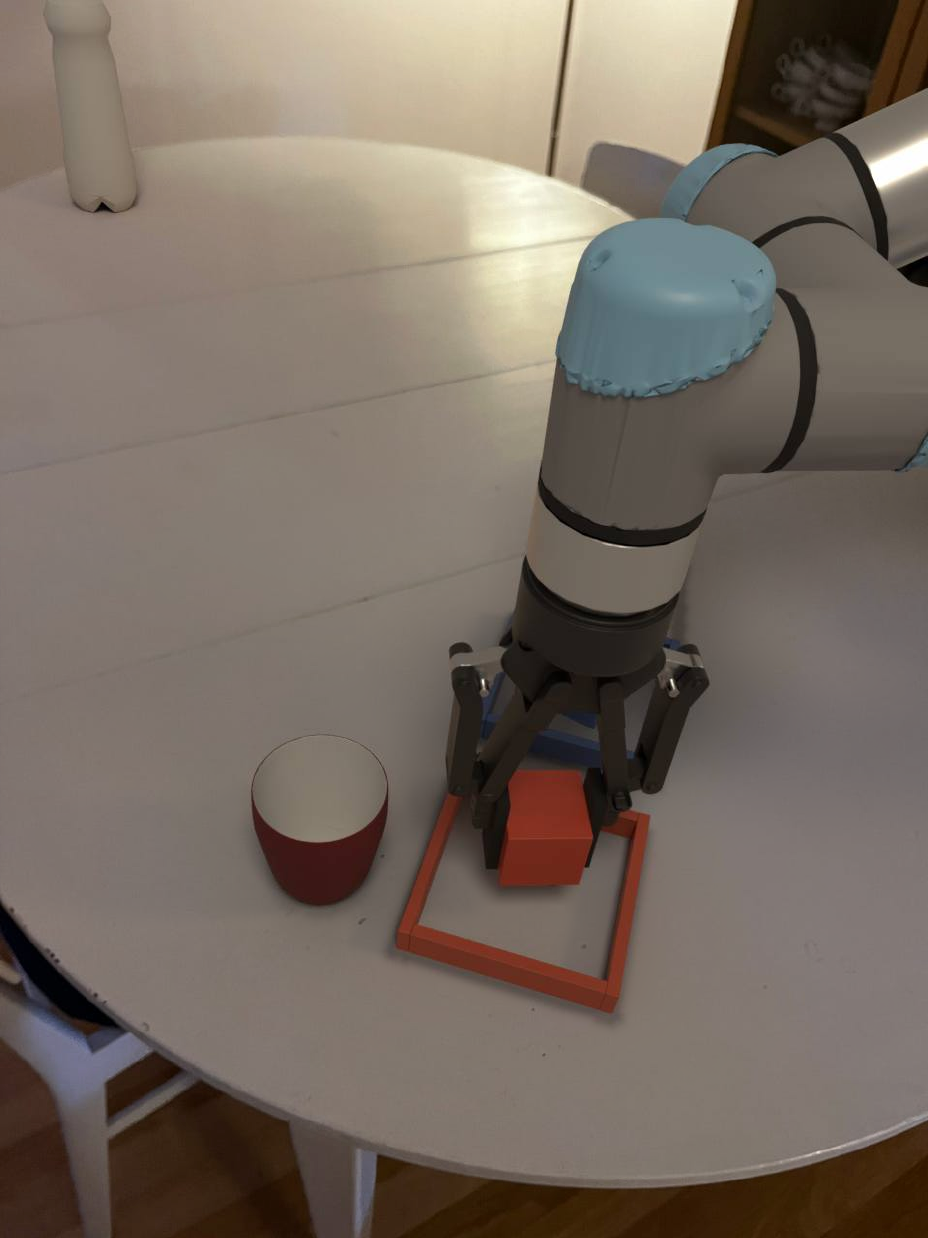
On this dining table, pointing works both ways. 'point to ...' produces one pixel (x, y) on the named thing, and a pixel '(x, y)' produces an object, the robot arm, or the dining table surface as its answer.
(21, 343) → the dining table surface
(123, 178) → the bottle
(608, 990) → the red tray
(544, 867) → the red block
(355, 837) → the mug
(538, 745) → the blue square frame
